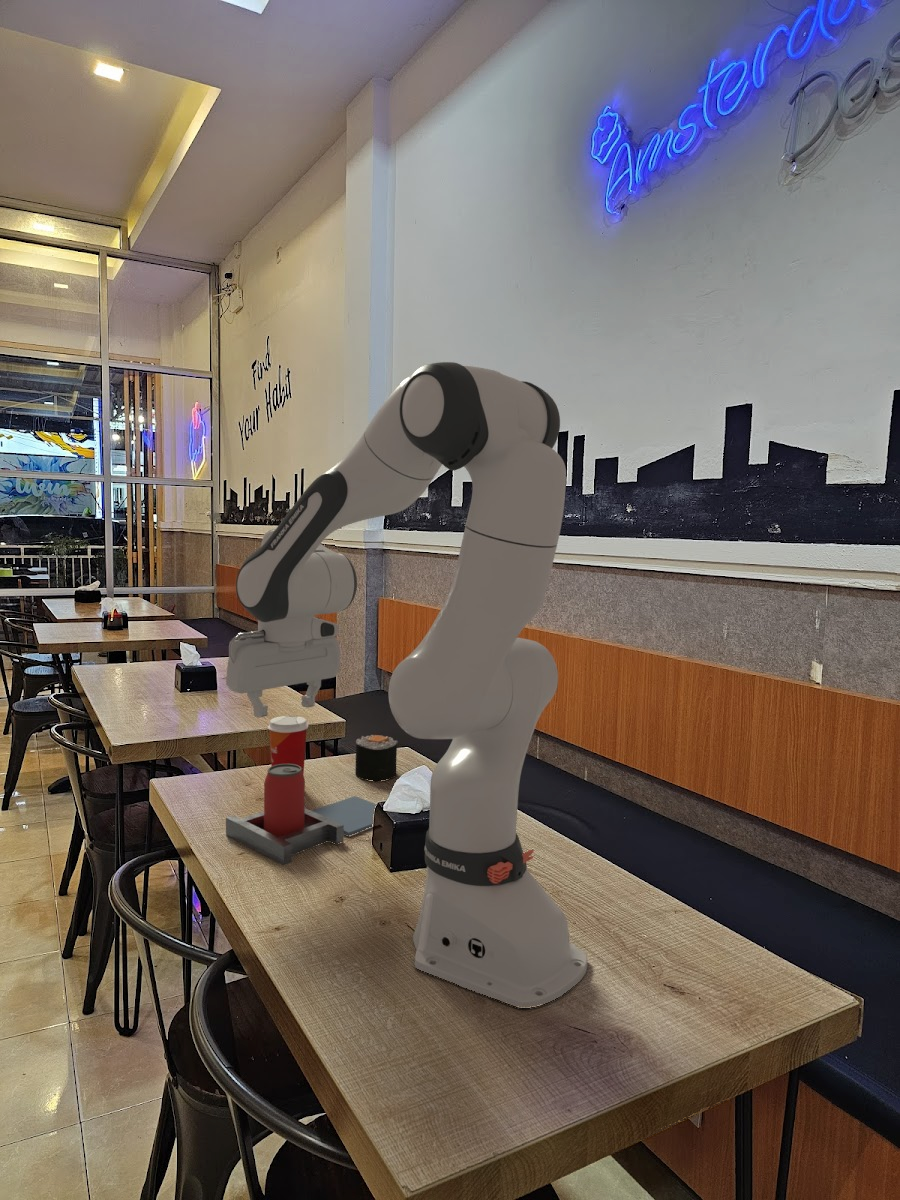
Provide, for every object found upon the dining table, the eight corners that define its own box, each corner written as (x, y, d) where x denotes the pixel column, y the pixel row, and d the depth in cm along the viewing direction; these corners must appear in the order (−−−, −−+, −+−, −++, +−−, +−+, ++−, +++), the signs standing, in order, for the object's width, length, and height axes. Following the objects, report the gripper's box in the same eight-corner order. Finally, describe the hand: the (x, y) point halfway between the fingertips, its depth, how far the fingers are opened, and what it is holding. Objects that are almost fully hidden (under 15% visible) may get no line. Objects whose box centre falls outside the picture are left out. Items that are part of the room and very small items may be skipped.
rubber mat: (399, 817, 139) (399, 813, 139) (348, 837, 130) (348, 832, 130) (355, 800, 147) (355, 796, 147) (304, 817, 138) (304, 812, 138)
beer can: (299, 847, 126) (300, 776, 124) (259, 846, 126) (259, 774, 124) (308, 831, 132) (308, 763, 131) (269, 830, 132) (270, 761, 131)
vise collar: (343, 842, 128) (343, 825, 128) (283, 865, 119) (283, 846, 119) (284, 815, 139) (285, 799, 138) (225, 834, 130) (225, 817, 130)
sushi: (372, 765, 167) (372, 729, 167) (403, 773, 163) (404, 736, 162) (347, 775, 161) (348, 738, 160) (379, 784, 156) (380, 745, 155)
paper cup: (273, 782, 155) (273, 714, 154) (311, 784, 155) (312, 715, 154) (262, 796, 148) (262, 724, 146) (302, 798, 147) (303, 726, 146)
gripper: (241, 636, 115) (240, 727, 117) (346, 624, 130) (344, 705, 132) (218, 631, 119) (217, 718, 121) (322, 620, 135) (321, 698, 136)
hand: (285, 711), depth 127 cm, fingers open, 8 cm apart
